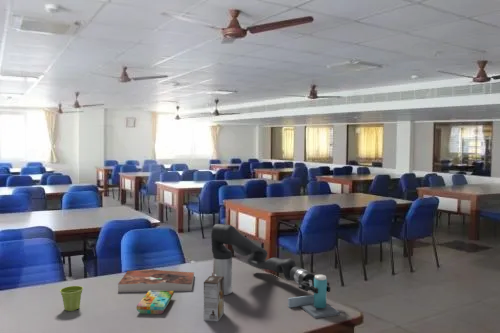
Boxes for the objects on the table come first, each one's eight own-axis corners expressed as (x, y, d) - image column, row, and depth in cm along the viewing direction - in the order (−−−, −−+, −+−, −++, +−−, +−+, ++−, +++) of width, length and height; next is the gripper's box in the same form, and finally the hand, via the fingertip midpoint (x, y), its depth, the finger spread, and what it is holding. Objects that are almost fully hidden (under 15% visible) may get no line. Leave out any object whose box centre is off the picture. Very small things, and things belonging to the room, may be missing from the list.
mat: (314, 318, 182) (314, 316, 182) (300, 307, 195) (300, 305, 194) (339, 314, 186) (340, 312, 186) (324, 304, 199) (324, 302, 199)
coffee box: (209, 312, 189) (209, 275, 188) (224, 313, 187) (224, 276, 187) (203, 320, 180) (203, 281, 179) (218, 321, 178) (218, 282, 178)
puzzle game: (136, 304, 185) (148, 288, 205) (136, 315, 186) (148, 298, 205) (164, 304, 185) (173, 289, 205) (164, 315, 185) (173, 299, 205)
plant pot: (61, 314, 185) (60, 294, 185) (59, 307, 193) (59, 287, 193) (84, 310, 189) (84, 290, 189) (82, 303, 198) (81, 284, 197)
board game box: (194, 277, 240) (194, 268, 239) (191, 291, 216) (191, 281, 216) (127, 278, 237) (127, 269, 237) (118, 292, 214) (118, 282, 213)
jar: (317, 308, 187) (318, 278, 186) (311, 304, 192) (311, 275, 191) (328, 307, 189) (329, 277, 188) (322, 302, 194) (322, 273, 193)
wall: (288, 307, 194) (289, 298, 194) (288, 306, 195) (288, 298, 195) (324, 302, 200) (324, 294, 200) (323, 302, 201) (323, 293, 201)
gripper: (318, 285, 206) (337, 297, 190) (290, 288, 201) (308, 301, 185) (318, 269, 206) (338, 280, 190) (291, 272, 201) (308, 283, 185)
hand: (323, 290), depth 188 cm, fingers closed on jar, 5 cm apart
